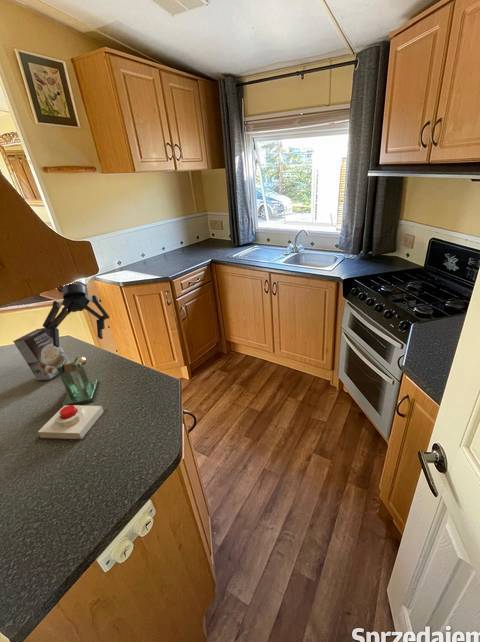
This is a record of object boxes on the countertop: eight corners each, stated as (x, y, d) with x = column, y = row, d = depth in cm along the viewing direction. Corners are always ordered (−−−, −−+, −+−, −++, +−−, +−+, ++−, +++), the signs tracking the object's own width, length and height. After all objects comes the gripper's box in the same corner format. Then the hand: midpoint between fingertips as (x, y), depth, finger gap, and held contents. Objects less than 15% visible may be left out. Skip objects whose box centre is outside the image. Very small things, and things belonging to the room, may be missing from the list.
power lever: (78, 366, 100) (76, 357, 100) (88, 363, 101) (86, 354, 101) (63, 374, 88) (61, 364, 88) (75, 371, 89) (73, 361, 88)
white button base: (40, 437, 79) (34, 427, 77) (66, 410, 88) (62, 400, 86) (81, 439, 78) (76, 428, 76) (103, 411, 87) (99, 401, 85)
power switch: (71, 388, 97) (58, 356, 92) (98, 382, 100) (86, 351, 94) (63, 408, 89) (47, 374, 83) (92, 401, 91) (79, 368, 86)
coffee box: (50, 379, 101) (25, 339, 94) (37, 380, 102) (11, 341, 96) (72, 364, 109) (49, 326, 102) (59, 365, 110) (36, 328, 104)
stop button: (58, 419, 80) (56, 414, 79) (68, 409, 83) (65, 405, 82) (70, 419, 80) (68, 414, 79) (79, 410, 83) (77, 405, 82)
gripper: (114, 286, 114) (120, 337, 108) (41, 297, 107) (42, 352, 101) (108, 277, 107) (114, 331, 101) (29, 288, 100) (30, 346, 94)
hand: (78, 342), depth 101 cm, fingers open, 13 cm apart
